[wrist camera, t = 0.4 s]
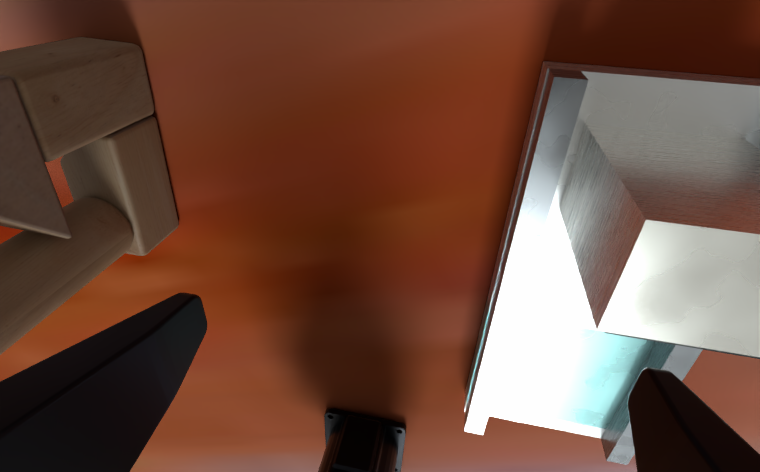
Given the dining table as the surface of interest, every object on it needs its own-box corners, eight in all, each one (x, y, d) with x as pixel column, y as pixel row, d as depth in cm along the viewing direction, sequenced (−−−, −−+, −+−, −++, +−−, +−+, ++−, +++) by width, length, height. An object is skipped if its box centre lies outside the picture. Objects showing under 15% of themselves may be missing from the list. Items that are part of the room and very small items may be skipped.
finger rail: (615, 421, 29) (665, 594, 21) (465, 392, 30) (458, 543, 22) (808, 82, 17) (1095, 190, 9) (543, 60, 18) (588, 137, 10)
